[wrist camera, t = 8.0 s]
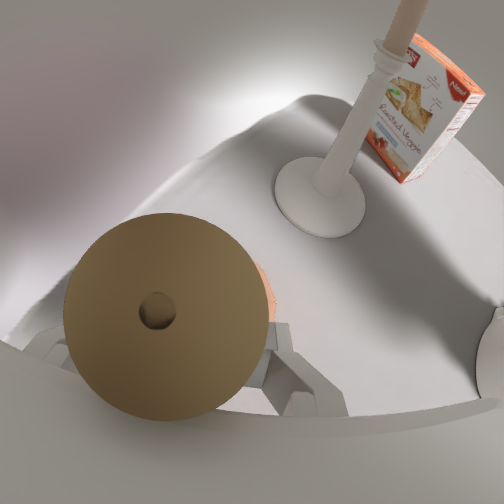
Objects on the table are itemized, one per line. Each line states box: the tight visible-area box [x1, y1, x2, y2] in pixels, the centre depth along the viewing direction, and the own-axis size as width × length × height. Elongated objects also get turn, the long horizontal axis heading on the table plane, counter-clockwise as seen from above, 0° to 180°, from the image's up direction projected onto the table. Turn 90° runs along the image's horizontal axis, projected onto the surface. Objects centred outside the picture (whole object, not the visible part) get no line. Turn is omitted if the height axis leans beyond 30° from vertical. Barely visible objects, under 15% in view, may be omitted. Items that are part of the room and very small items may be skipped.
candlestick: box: [275, 0, 430, 238], centre depth 24 cm, size 13×13×30 cm
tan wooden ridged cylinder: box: [63, 213, 269, 421], centre depth 11 cm, size 4×4×14 cm
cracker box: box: [365, 34, 485, 183], centre depth 34 cm, size 14×6×21 cm, turn 25°
